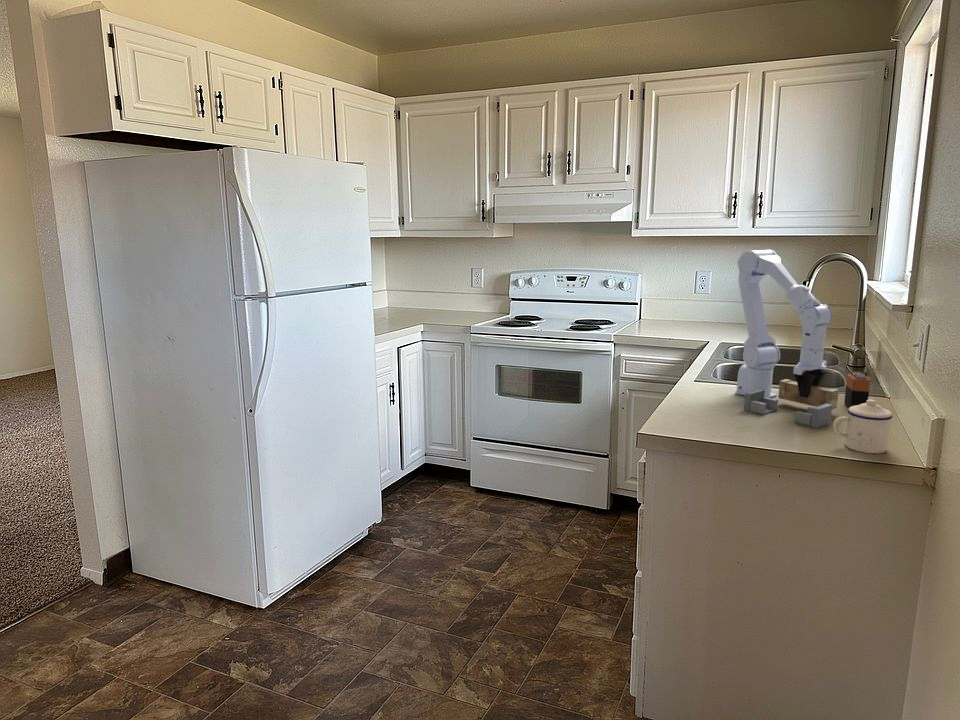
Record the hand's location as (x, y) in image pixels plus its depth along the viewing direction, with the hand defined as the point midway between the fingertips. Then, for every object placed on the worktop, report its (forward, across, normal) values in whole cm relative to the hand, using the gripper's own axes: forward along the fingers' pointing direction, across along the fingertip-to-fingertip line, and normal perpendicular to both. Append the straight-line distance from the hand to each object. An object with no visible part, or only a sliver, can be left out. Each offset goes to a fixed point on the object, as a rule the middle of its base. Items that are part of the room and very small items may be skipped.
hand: (807, 395), depth 186 cm
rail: (+2, 0, 0) cm, 2 cm away
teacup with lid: (+4, -21, -24) cm, 32 cm away
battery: (+4, +13, -8) cm, 16 cm away
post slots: (+4, -11, 0) cm, 12 cm away
